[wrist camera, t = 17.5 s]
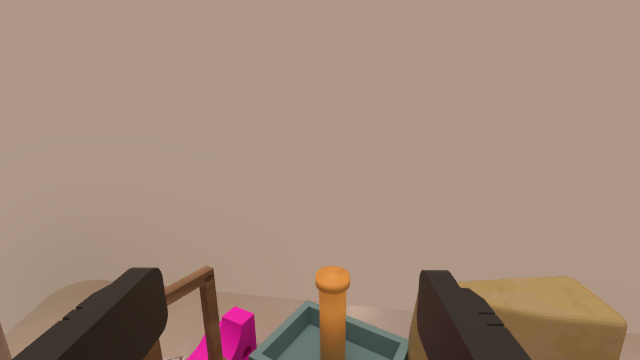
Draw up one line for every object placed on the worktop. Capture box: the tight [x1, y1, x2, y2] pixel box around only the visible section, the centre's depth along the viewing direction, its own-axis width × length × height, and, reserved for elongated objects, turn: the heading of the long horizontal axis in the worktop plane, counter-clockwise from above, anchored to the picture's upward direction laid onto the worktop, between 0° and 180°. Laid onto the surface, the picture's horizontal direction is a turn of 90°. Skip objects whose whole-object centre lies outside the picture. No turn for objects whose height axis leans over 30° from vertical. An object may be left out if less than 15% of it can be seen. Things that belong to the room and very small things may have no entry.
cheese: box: [407, 276, 627, 360], centre depth 40 cm, size 22×10×15 cm, turn 86°
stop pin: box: [316, 266, 350, 360], centre depth 42 cm, size 4×4×15 cm
